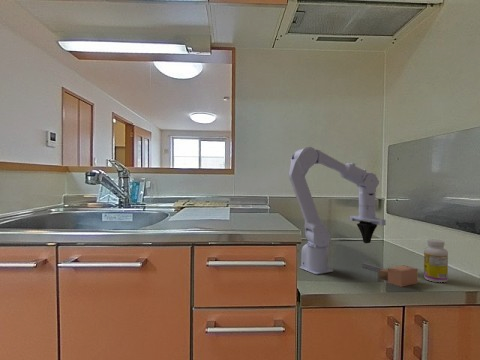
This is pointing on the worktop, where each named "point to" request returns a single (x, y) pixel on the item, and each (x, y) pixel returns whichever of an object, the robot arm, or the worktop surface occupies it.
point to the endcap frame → (397, 274)
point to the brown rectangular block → (383, 274)
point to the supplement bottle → (436, 261)
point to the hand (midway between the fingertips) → (366, 242)
